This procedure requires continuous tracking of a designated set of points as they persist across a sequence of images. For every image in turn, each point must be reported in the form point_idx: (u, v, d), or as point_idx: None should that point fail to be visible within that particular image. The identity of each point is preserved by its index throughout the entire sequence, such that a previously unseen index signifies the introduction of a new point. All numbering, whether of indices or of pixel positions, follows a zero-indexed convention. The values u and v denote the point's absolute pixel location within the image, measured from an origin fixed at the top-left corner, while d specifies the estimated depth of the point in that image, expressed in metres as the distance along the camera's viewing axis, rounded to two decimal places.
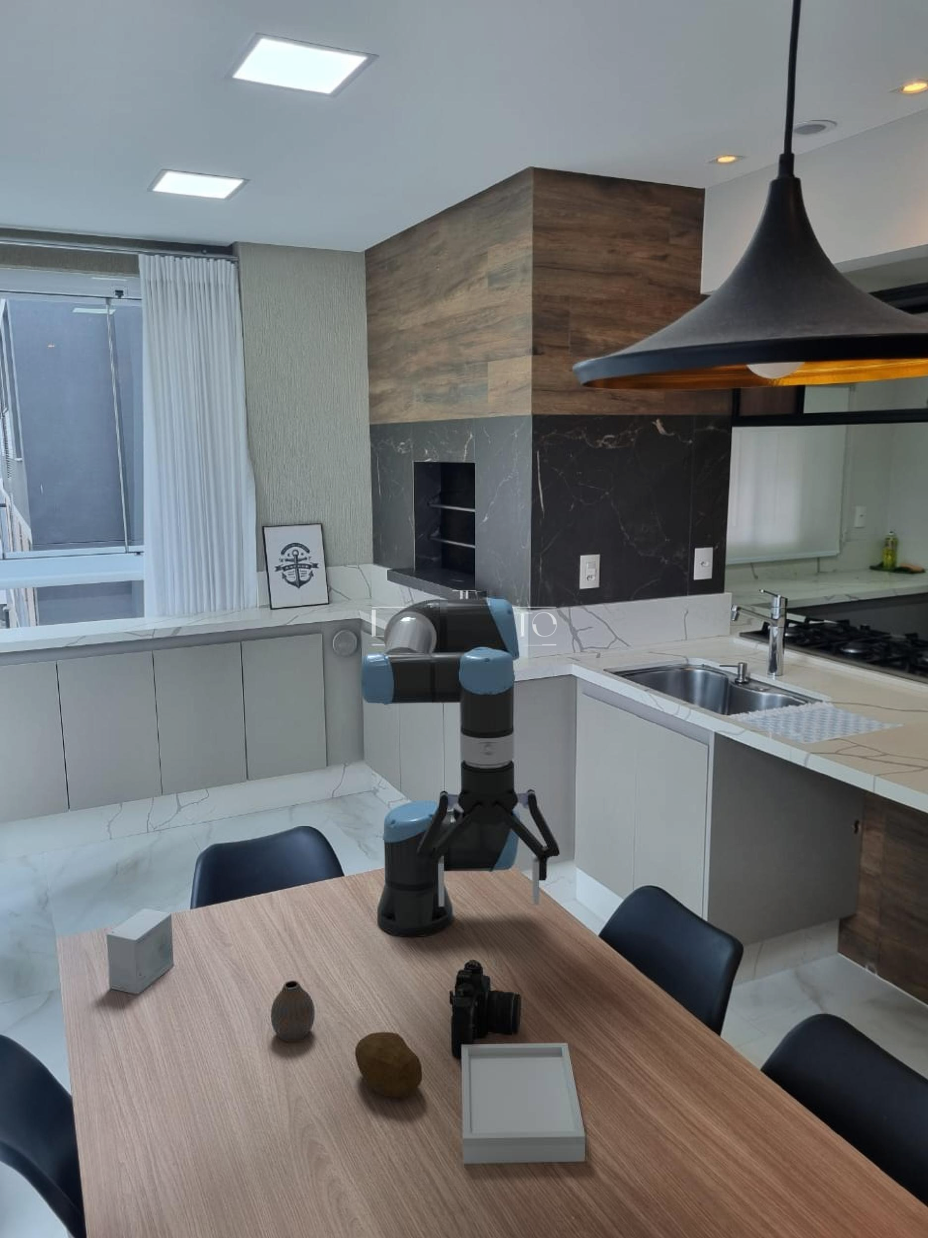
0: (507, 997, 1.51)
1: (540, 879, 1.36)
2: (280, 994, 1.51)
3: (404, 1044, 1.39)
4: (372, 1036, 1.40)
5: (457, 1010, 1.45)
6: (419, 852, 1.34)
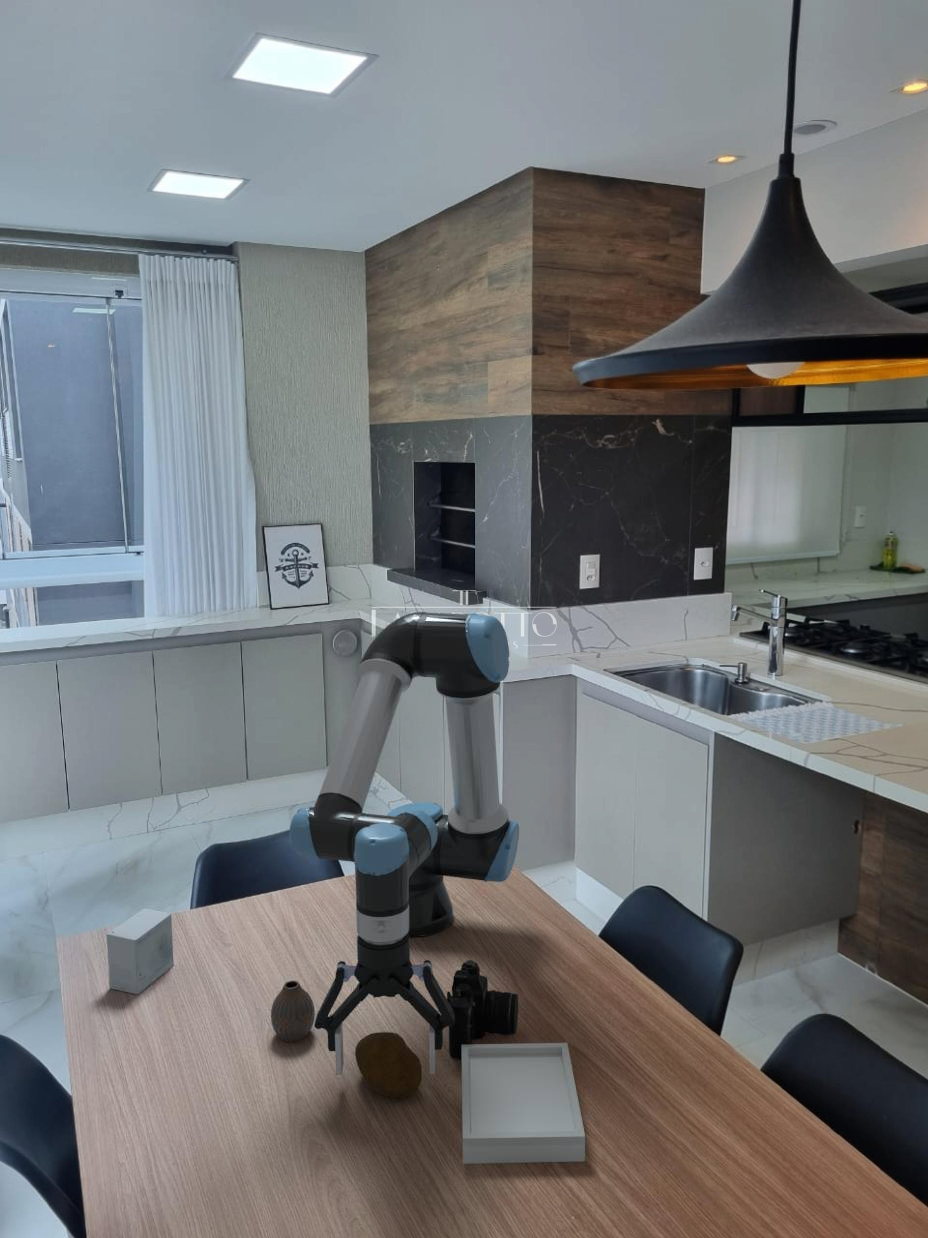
0: (505, 998, 1.51)
1: (436, 1048, 1.38)
2: (280, 994, 1.51)
3: (404, 1044, 1.39)
4: (372, 1036, 1.40)
5: (455, 1010, 1.44)
6: (316, 1023, 1.36)
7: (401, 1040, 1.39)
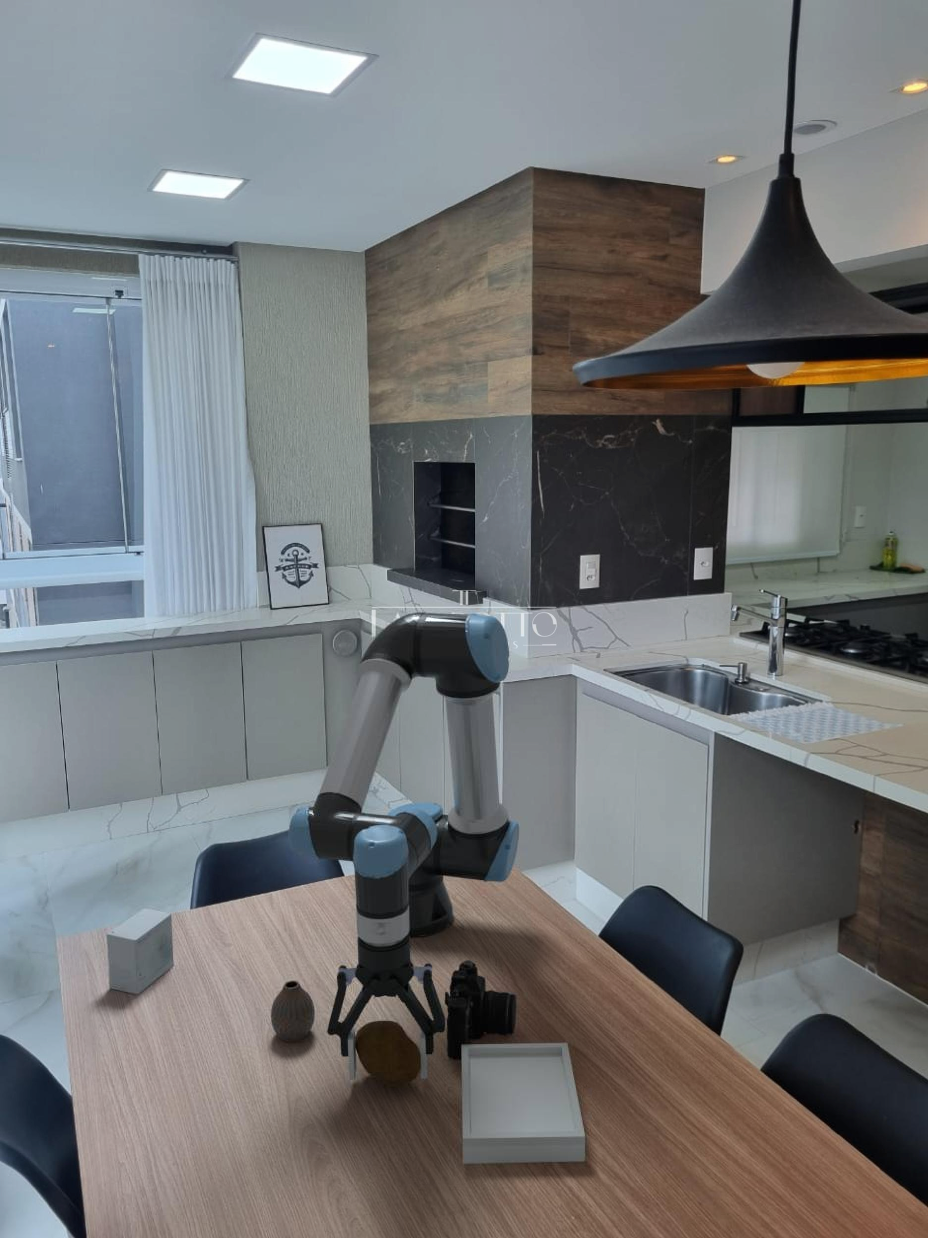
0: (502, 998, 1.51)
1: (427, 1053, 1.39)
2: (280, 994, 1.51)
3: (403, 1033, 1.39)
4: (372, 1024, 1.41)
5: (453, 1010, 1.44)
6: (328, 1030, 1.37)
7: (400, 1029, 1.40)
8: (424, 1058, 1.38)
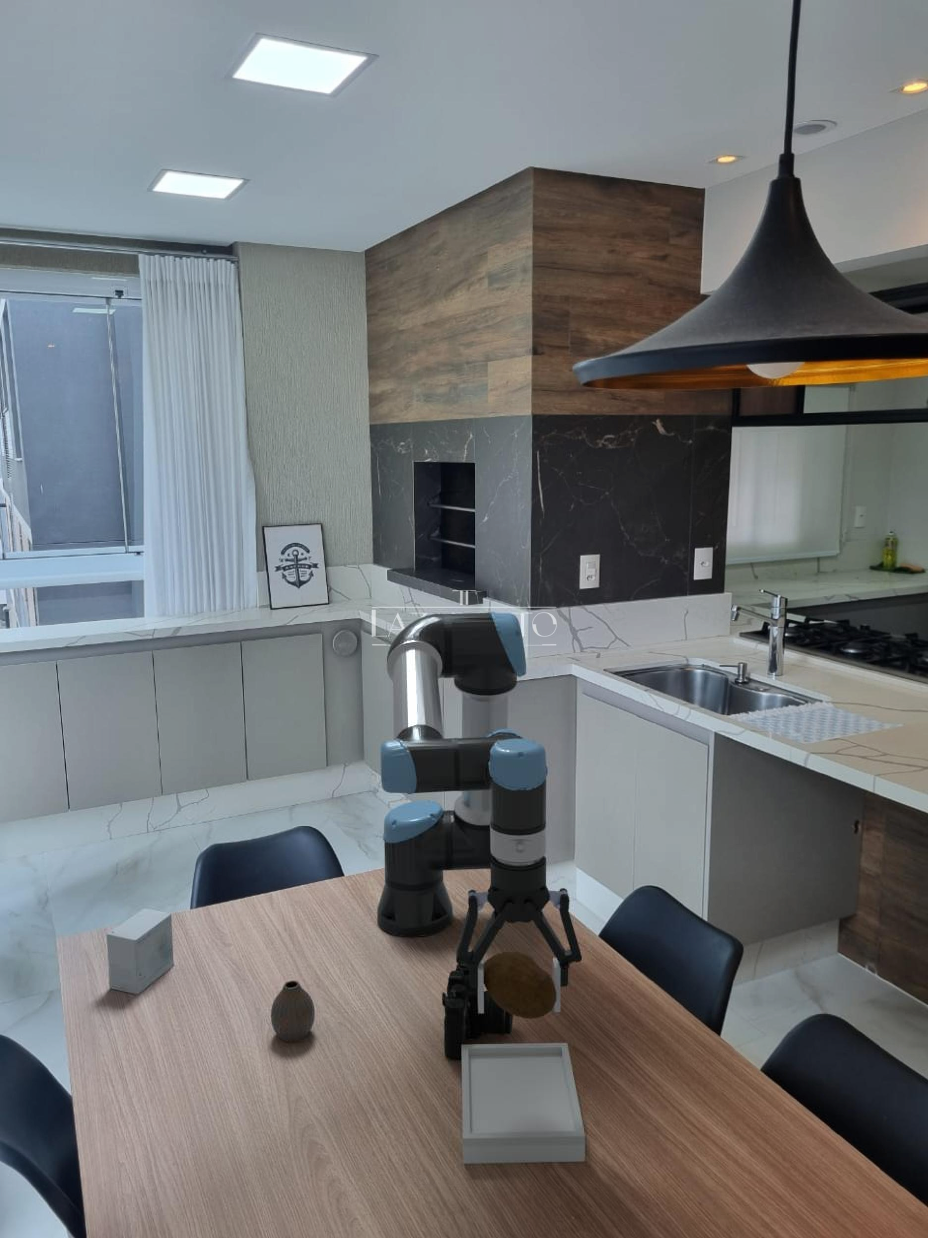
0: None
1: (561, 985, 1.30)
2: (280, 994, 1.51)
3: (535, 963, 1.31)
4: (500, 955, 1.32)
5: (450, 1011, 1.44)
6: (458, 958, 1.29)
7: (532, 959, 1.31)
8: (559, 990, 1.29)
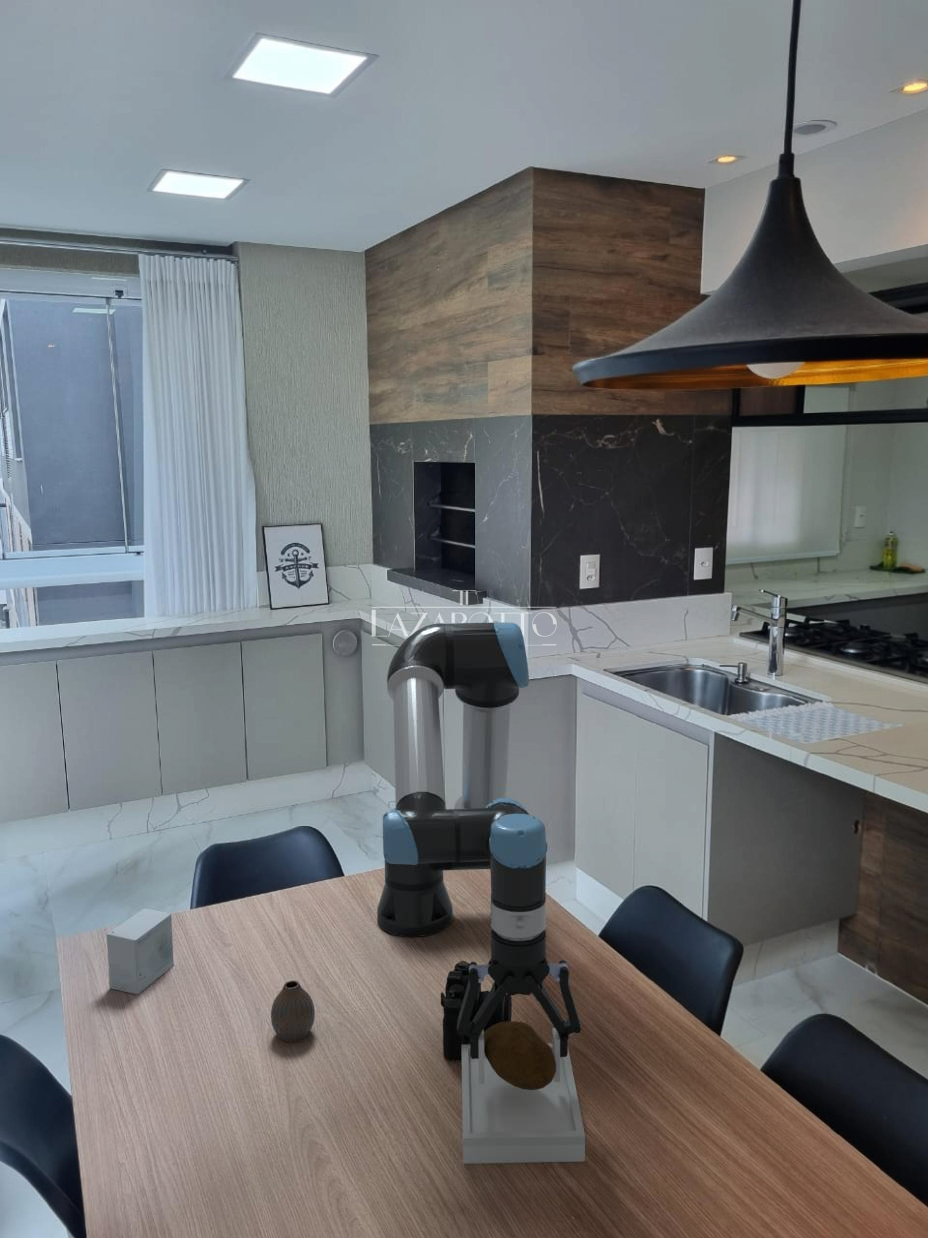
0: None
1: (561, 1056, 1.32)
2: (280, 994, 1.51)
3: (535, 1034, 1.32)
4: (501, 1025, 1.34)
5: (449, 1011, 1.44)
6: (459, 1030, 1.31)
7: (532, 1030, 1.33)
8: (558, 1060, 1.31)
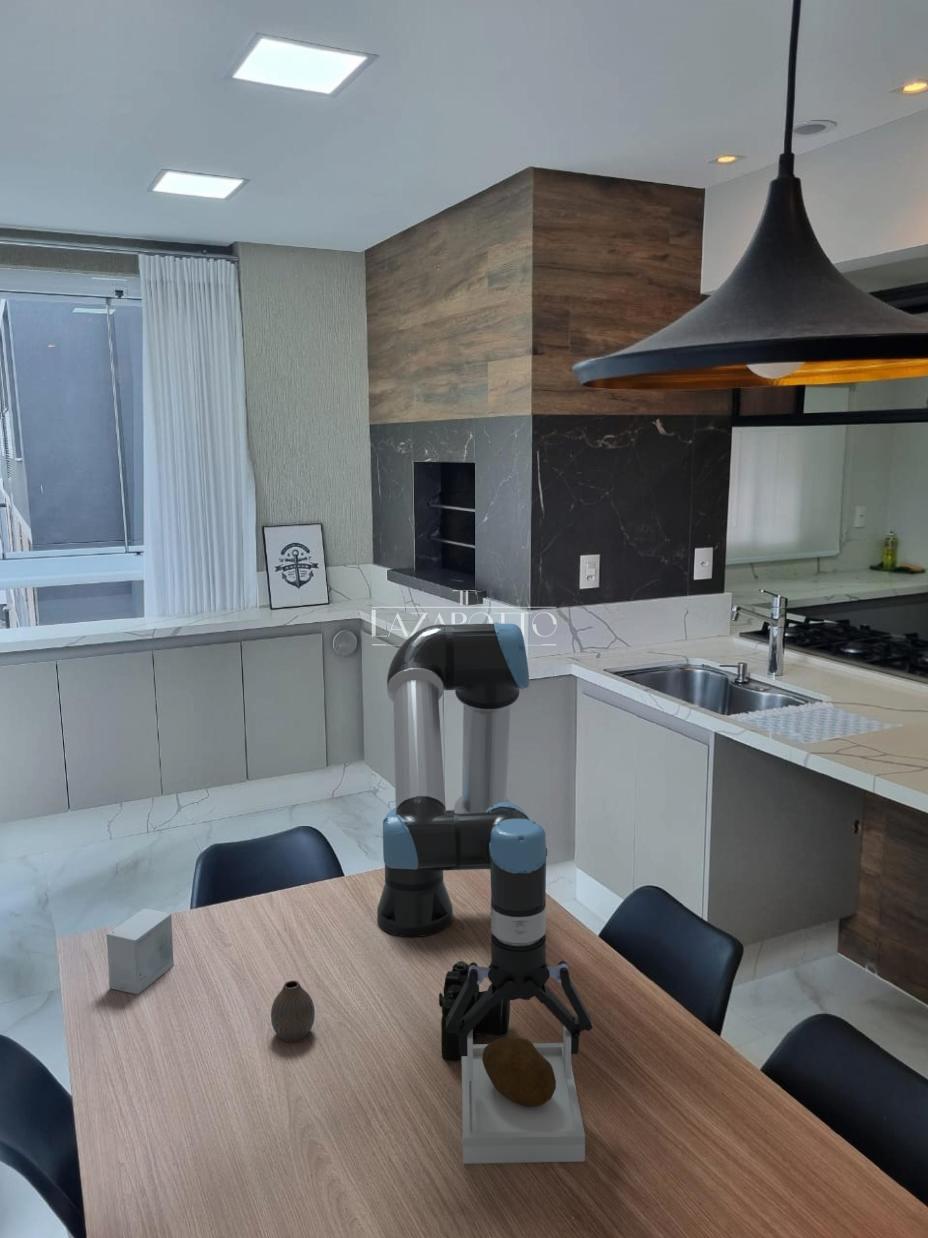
0: None
1: (572, 1053, 1.32)
2: (280, 994, 1.51)
3: (535, 1050, 1.33)
4: (501, 1041, 1.34)
5: (447, 1011, 1.44)
6: (448, 1027, 1.30)
7: (532, 1046, 1.33)
8: (569, 1058, 1.31)
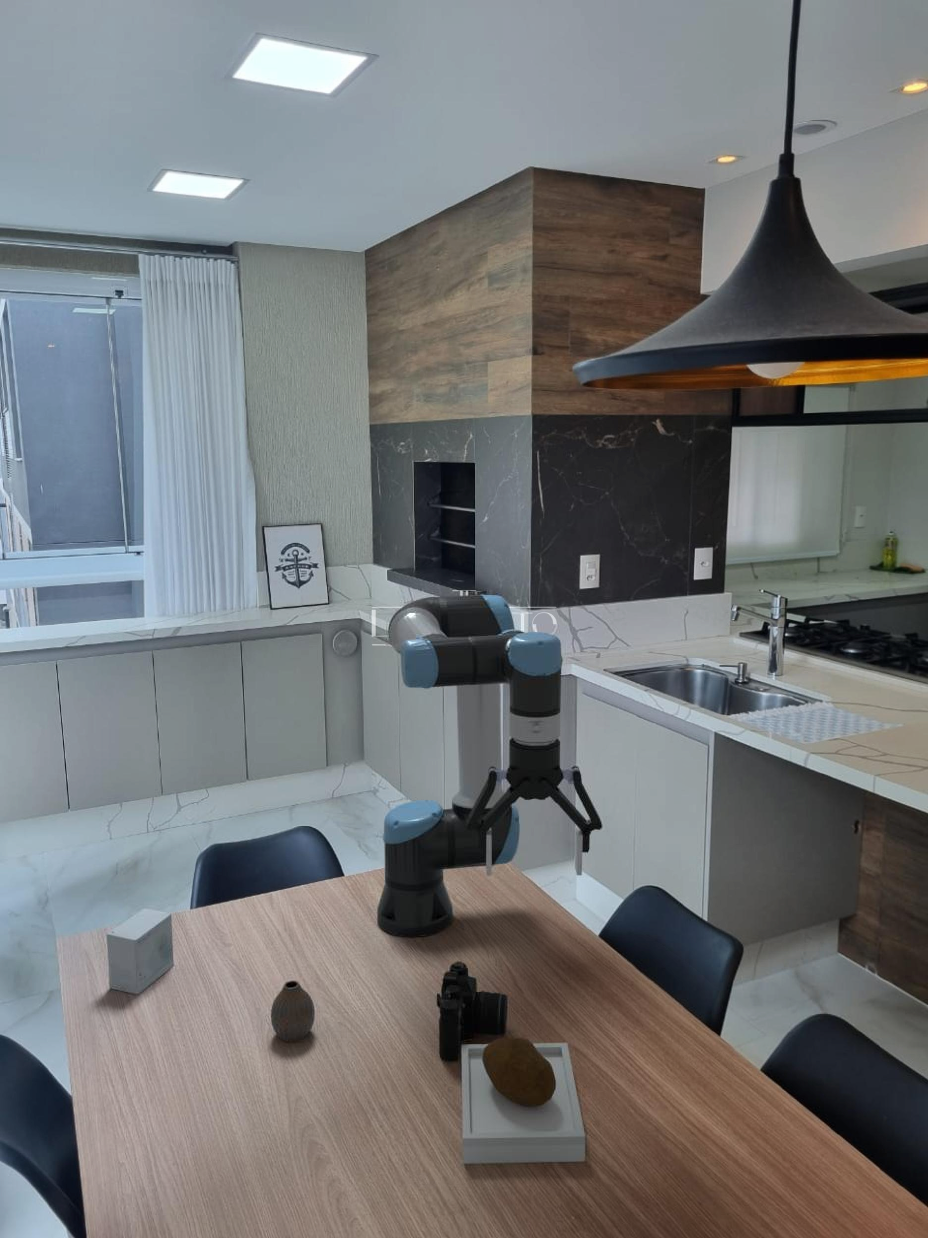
0: (494, 998, 1.50)
1: (583, 851, 1.43)
2: (280, 994, 1.51)
3: (535, 1050, 1.33)
4: (501, 1041, 1.34)
5: (445, 1012, 1.44)
6: (468, 824, 1.41)
7: (532, 1046, 1.33)
8: (580, 855, 1.42)
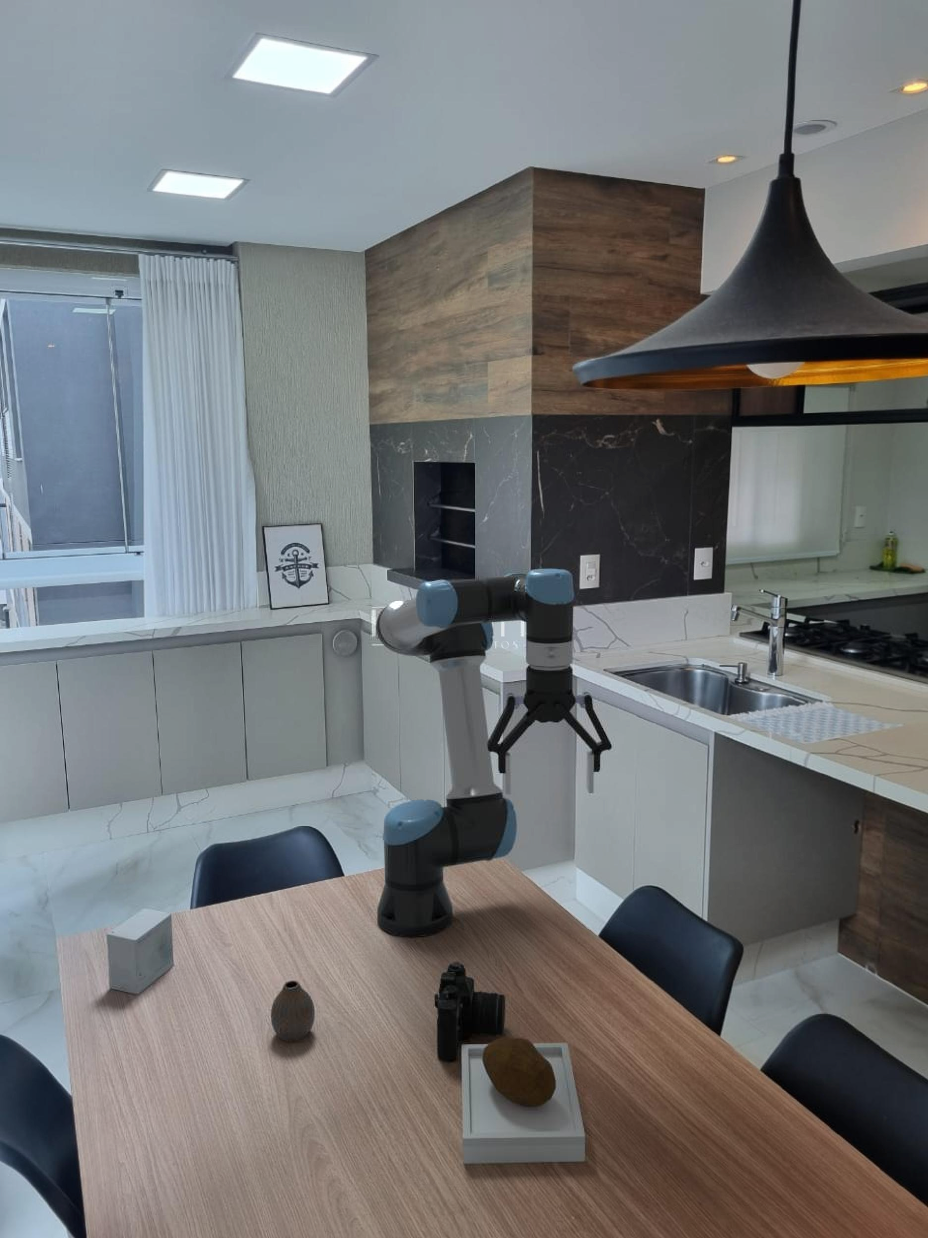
0: (492, 998, 1.50)
1: (594, 771, 1.55)
2: (280, 994, 1.51)
3: (535, 1050, 1.33)
4: (501, 1041, 1.34)
5: (443, 1012, 1.44)
6: (489, 746, 1.54)
7: (532, 1046, 1.33)
8: (592, 774, 1.55)
